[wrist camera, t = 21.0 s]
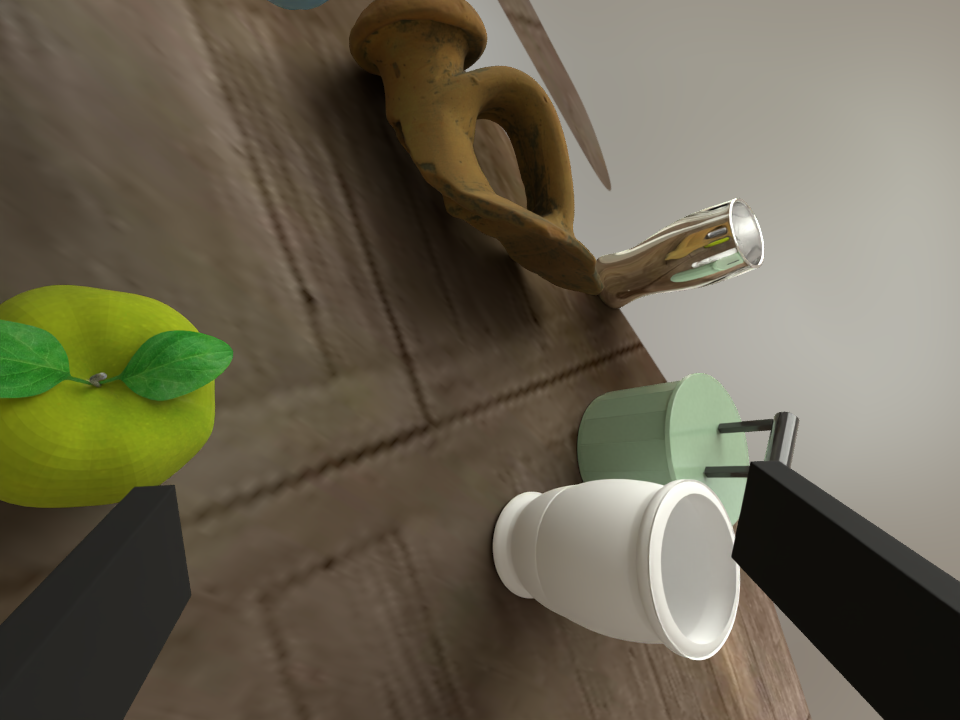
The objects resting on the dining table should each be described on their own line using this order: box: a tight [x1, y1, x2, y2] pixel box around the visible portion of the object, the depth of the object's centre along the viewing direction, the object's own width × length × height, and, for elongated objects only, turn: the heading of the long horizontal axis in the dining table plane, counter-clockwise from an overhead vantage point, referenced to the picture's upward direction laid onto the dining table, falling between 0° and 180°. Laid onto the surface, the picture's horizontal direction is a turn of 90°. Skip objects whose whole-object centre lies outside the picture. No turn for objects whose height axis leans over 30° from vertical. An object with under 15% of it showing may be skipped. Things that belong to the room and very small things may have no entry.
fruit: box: [0, 285, 233, 508], centre depth 22 cm, size 9×9×10 cm
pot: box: [577, 381, 680, 485], centre depth 48 cm, size 13×13×10 cm
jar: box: [493, 479, 740, 660], centre depth 37 cm, size 11×10×15 cm
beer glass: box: [596, 198, 764, 309], centre depth 51 cm, size 7×7×15 cm
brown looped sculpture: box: [349, 0, 604, 295], centre depth 39 cm, size 18×13×22 cm
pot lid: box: [665, 373, 799, 526], centre depth 42 cm, size 14×14×8 cm
